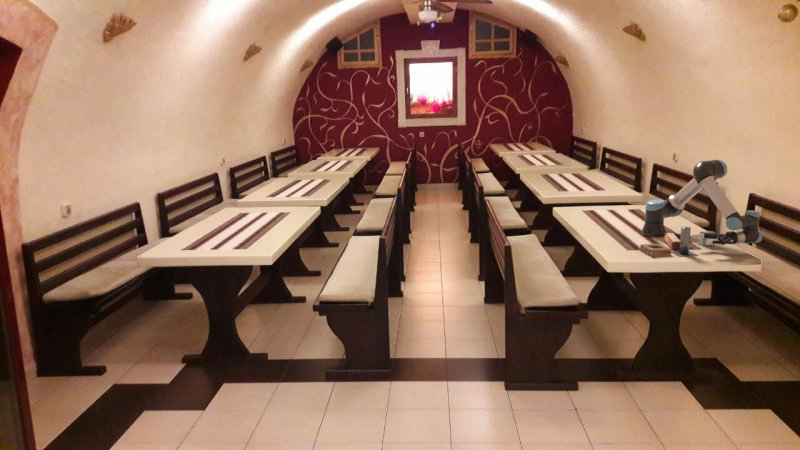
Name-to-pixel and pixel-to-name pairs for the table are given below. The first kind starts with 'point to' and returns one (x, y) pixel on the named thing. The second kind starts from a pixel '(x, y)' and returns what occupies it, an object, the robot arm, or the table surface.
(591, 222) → the table surface
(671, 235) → the snack package
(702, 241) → the medicine box
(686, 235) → the pin
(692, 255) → the mat
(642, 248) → the socket block
